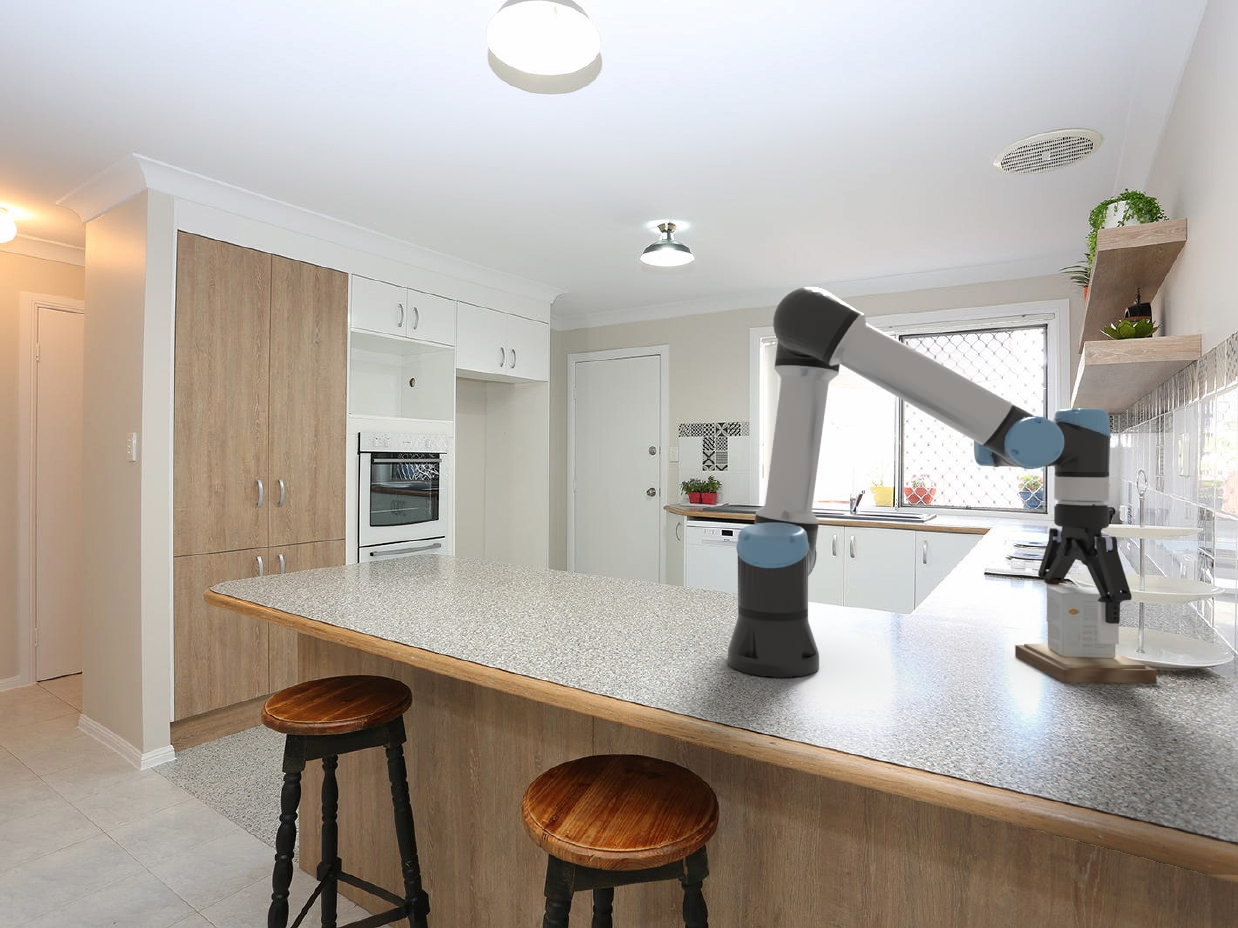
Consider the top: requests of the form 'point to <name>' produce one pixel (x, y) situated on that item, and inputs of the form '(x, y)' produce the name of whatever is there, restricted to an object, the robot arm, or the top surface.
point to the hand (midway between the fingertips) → (1080, 632)
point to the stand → (1085, 666)
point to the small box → (1075, 623)
